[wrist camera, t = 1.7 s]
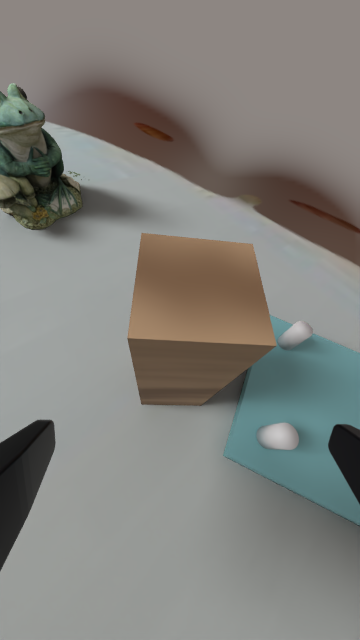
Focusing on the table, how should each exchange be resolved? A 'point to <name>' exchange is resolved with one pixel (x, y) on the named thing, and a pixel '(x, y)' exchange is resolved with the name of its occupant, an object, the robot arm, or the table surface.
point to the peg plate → (299, 416)
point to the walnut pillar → (195, 318)
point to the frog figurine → (32, 166)
